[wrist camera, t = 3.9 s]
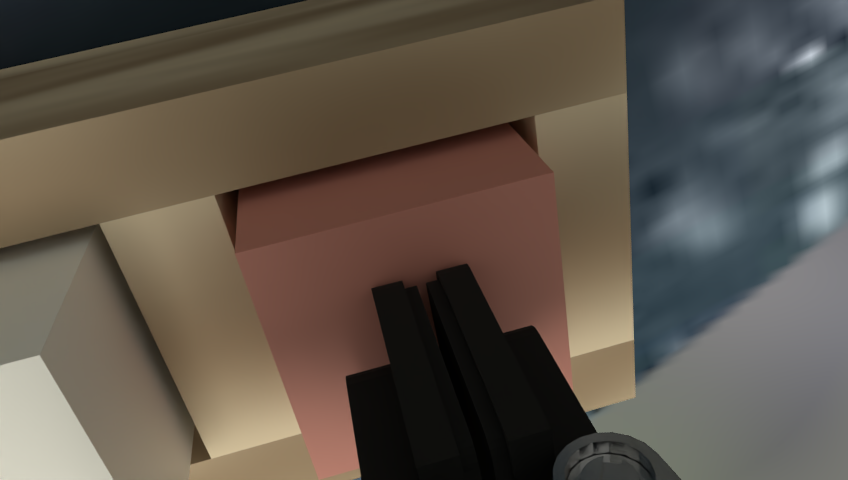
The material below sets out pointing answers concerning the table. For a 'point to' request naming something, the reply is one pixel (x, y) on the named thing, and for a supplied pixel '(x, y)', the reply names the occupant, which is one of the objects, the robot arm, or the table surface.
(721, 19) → the table surface
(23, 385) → the white key
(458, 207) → the red key
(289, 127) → the key box
